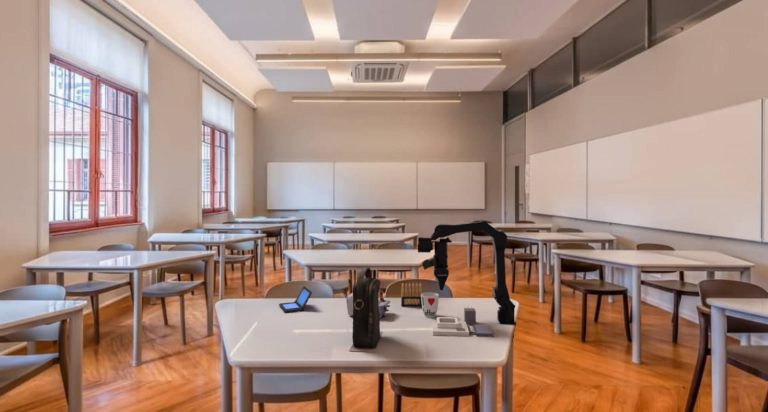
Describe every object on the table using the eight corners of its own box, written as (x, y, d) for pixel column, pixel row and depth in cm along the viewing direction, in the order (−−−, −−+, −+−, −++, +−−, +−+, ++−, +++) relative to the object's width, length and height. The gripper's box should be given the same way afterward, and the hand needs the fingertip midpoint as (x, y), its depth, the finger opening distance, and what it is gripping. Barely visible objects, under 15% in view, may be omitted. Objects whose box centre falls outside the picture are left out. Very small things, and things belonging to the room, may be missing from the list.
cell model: (350, 288, 198) (391, 290, 195) (349, 311, 198) (390, 313, 195) (344, 294, 185) (388, 296, 182) (344, 318, 185) (388, 320, 182)
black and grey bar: (475, 333, 163) (475, 331, 163) (476, 334, 162) (475, 332, 162) (468, 333, 163) (468, 330, 163) (468, 334, 162) (468, 331, 162)
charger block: (474, 322, 178) (474, 305, 178) (475, 325, 174) (475, 308, 174) (464, 321, 179) (464, 305, 179) (465, 324, 174) (464, 308, 174)
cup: (418, 317, 186) (418, 295, 186) (425, 312, 194) (425, 291, 194) (435, 319, 183) (435, 297, 183) (441, 314, 190) (441, 293, 190)
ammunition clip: (401, 306, 206) (400, 282, 205) (401, 305, 207) (401, 282, 207) (422, 306, 205) (422, 283, 205) (422, 306, 206) (422, 282, 206)
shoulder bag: (360, 331, 167) (360, 262, 166) (382, 332, 166) (382, 263, 165) (348, 351, 144) (348, 272, 144) (374, 352, 143) (373, 272, 143)
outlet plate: (465, 325, 174) (465, 317, 174) (469, 336, 160) (469, 327, 160) (432, 324, 175) (432, 316, 175) (433, 335, 161) (433, 326, 161)
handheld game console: (278, 306, 208) (278, 288, 208) (304, 303, 214) (304, 285, 214) (284, 314, 194) (284, 294, 194) (312, 310, 200) (312, 291, 200)
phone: (488, 327, 171) (488, 324, 171) (493, 336, 159) (493, 333, 159) (473, 326, 171) (473, 324, 171) (476, 336, 159) (476, 333, 159)
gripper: (423, 250, 191) (423, 283, 191) (421, 255, 172) (422, 292, 172) (447, 250, 189) (447, 283, 189) (448, 255, 171) (448, 292, 171)
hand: (441, 287), depth 181 cm, fingers open, 9 cm apart
